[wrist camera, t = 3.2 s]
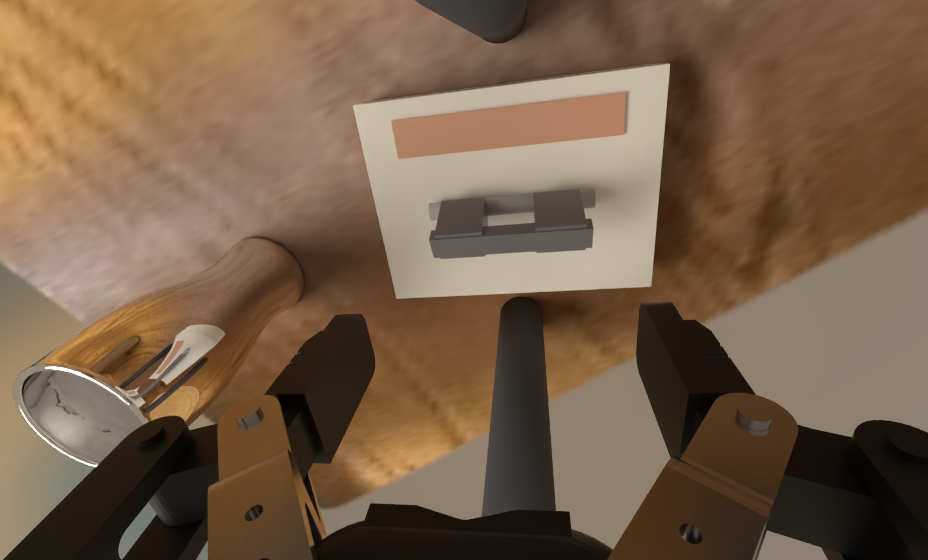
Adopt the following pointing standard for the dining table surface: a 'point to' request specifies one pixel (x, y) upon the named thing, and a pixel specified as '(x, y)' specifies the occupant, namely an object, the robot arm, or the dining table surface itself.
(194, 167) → the dining table surface
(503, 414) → the post
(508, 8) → the cable post near arm
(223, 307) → the beer glass
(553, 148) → the breaker panel
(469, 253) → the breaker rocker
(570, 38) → the dining table surface
